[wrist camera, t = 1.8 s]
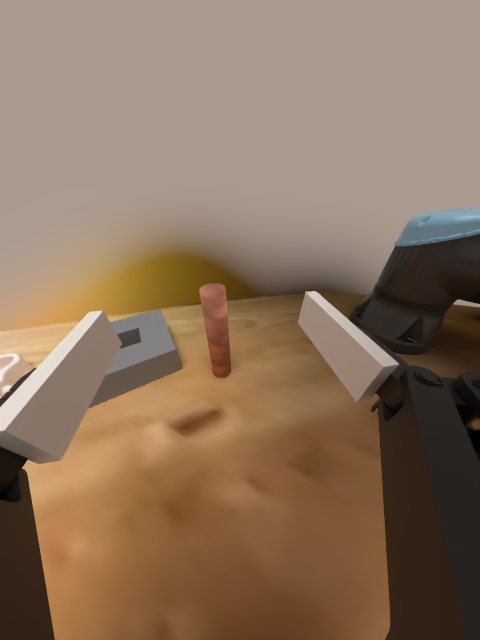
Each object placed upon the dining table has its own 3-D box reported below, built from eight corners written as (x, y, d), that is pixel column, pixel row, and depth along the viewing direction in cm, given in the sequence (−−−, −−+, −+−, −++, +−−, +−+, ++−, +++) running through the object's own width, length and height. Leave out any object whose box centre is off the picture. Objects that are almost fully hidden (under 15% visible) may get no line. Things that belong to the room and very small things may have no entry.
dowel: (226, 360, 33) (218, 281, 23) (234, 372, 30) (230, 290, 21) (210, 367, 31) (195, 287, 22) (217, 380, 29) (205, 297, 20)
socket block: (166, 326, 41) (160, 308, 38) (182, 368, 31) (176, 349, 28) (95, 348, 35) (82, 329, 32) (88, 407, 26) (68, 389, 23)
